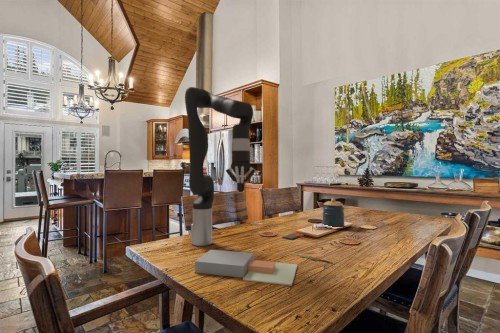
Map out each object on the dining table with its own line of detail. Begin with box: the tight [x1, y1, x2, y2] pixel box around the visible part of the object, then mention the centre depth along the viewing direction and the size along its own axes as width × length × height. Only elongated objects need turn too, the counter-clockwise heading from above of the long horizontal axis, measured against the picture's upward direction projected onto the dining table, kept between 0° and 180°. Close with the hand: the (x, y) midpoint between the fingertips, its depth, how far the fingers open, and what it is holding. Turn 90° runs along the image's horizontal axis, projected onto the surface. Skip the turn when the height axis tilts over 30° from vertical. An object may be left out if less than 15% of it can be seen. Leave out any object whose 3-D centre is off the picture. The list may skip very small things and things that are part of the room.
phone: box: [281, 231, 305, 241], centre depth 149 cm, size 6×1×15 cm
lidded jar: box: [321, 197, 345, 228], centre depth 170 cm, size 13×13×18 cm
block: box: [247, 259, 276, 274], centre depth 101 cm, size 9×6×2 cm, turn 75°
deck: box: [194, 249, 255, 279], centre depth 104 cm, size 18×14×4 cm
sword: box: [286, 251, 333, 264], centre depth 116 cm, size 25×4×1 cm, turn 48°
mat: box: [242, 261, 298, 287], centre depth 99 cm, size 16×18×1 cm
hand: (241, 191), depth 116 cm, fingers closed
